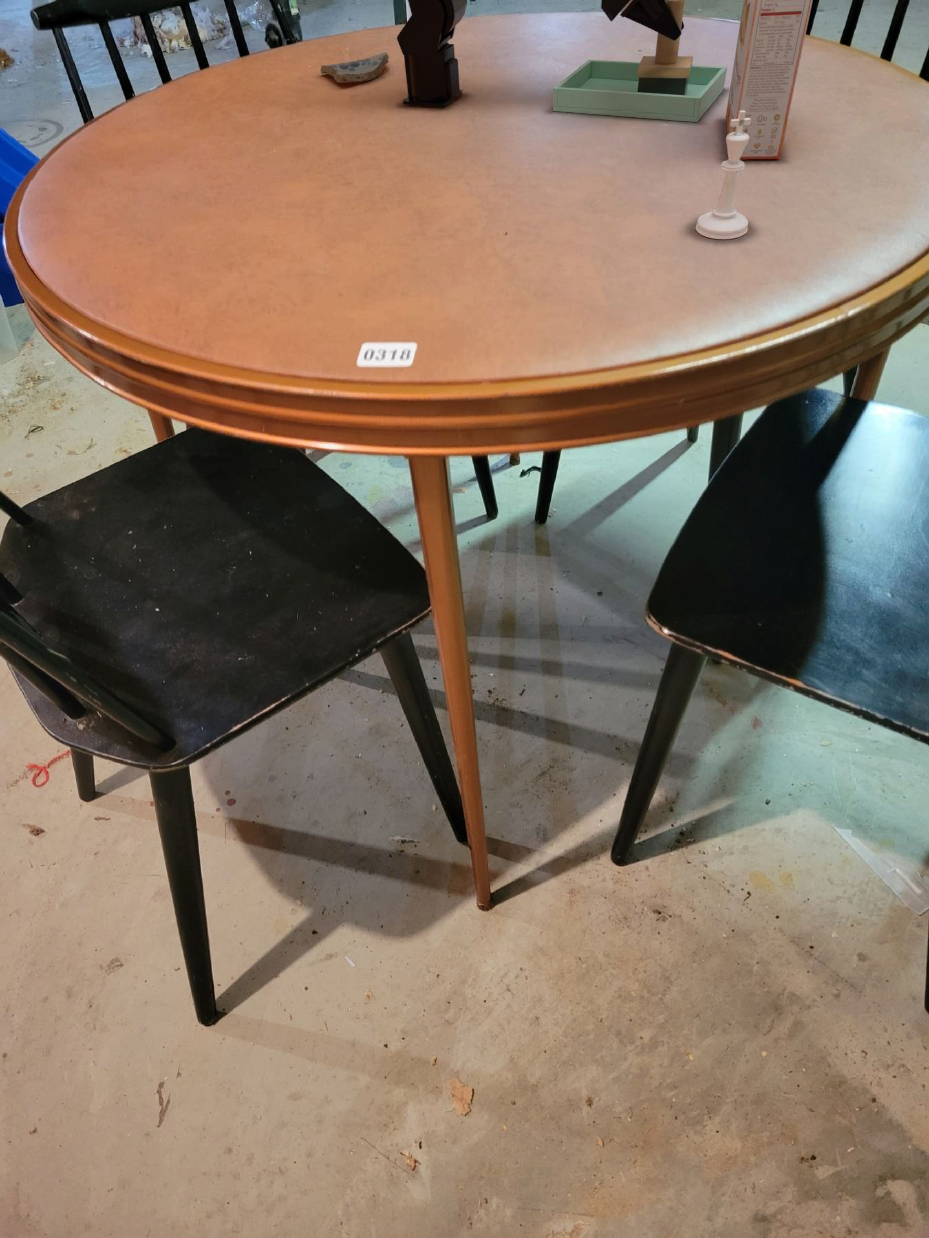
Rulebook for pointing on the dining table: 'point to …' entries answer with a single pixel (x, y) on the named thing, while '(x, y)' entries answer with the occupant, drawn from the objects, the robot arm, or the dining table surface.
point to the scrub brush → (666, 63)
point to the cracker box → (766, 71)
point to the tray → (635, 92)
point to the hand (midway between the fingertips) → (679, 34)
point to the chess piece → (728, 190)
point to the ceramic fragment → (357, 69)
